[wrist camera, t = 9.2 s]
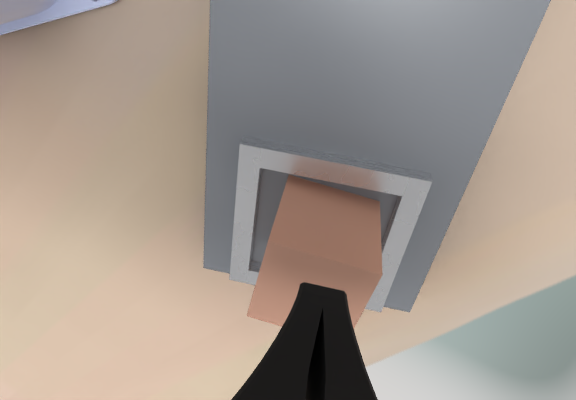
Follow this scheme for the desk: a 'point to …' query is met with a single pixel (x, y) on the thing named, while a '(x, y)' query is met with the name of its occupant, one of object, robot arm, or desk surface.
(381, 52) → the board
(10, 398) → the desk surface
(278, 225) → the block
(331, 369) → the robot arm
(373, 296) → the locating frame
